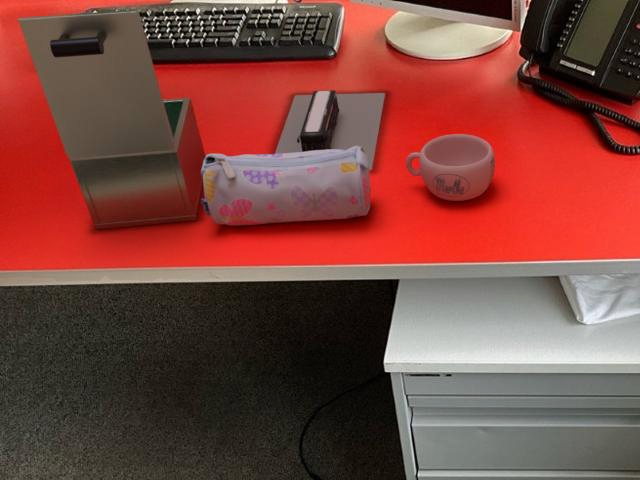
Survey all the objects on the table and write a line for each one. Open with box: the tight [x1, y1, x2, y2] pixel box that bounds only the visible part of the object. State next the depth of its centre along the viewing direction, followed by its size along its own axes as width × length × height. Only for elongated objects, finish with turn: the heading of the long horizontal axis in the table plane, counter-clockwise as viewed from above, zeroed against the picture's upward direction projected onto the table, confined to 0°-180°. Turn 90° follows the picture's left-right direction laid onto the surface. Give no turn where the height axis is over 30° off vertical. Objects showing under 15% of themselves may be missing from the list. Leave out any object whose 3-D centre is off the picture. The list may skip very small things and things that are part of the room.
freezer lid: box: [17, 9, 176, 160], centre depth 101 cm, size 16×13×5 cm
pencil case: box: [200, 146, 371, 227], centre depth 113 cm, size 21×9×10 cm, turn 92°
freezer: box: [69, 97, 207, 230], centre depth 118 cm, size 16×13×10 cm
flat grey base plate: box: [274, 89, 386, 171], centre depth 133 cm, size 14×25×4 cm, turn 1°
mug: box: [405, 133, 496, 202], centre depth 119 cm, size 12×10×6 cm
